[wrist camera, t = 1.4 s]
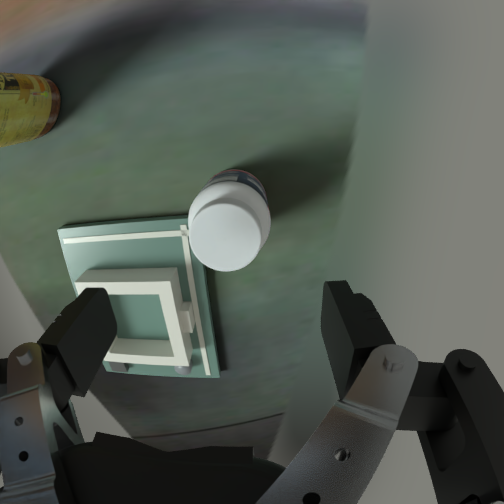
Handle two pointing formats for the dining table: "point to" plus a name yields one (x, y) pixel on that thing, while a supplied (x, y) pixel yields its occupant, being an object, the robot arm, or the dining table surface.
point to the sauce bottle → (26, 107)
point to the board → (147, 293)
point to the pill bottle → (229, 220)
